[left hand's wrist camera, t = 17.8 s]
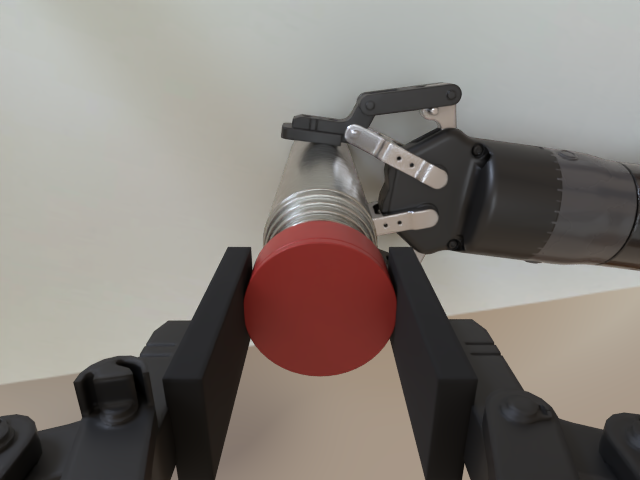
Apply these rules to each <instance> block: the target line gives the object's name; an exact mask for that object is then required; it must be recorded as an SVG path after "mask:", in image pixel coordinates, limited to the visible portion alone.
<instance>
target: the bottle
mask: <svg viewBox="0 0 640 480" xmlns="http://www.w3.org/2000/svg"><path fill="white" fill-rule="evenodd" d="M310 221H331V222H336V223H341V224H344V225H347V226H349V227H351V228H353V229H355V230H357V231H359V232H360V233H362V234H364V235H365V236H366V237H367V238H368V239H370V240H371V241H372V242H373V244H374V245H375V246H376V247H377V233H376V228H375V225H374V221H373V218H372V216H371V213H370V210H369V207H368V204H367V201H366V198H365V195H364V192H363V189H362V186H361V183H360V180H359V177H358V174H357V171H356V168H355V165H354V162H353V159H352V156H351V153H350V150H349V147H348V145H347V143H342V142H341V146H334V145H328V144H319V143H312V142H304V141H297V140H295V141H294V143H293V145H292V148H291V151H290V154H289V157H288V160H287V163H286V166H285V169H284V172H283V175H282V178H281V181H280V184H279V187H278V190H277V193H276V196H275V199H274V202H273V205H272V208H271V211H270V214H269V217H268V220H267V223H266V226H265V229H264V235H263V247H264V246H265V245H266V244H267V243H268V242H269V241H270V240H271V239H272V238H273V237H274V236H276V235H277V234H278V233H280V232H282V231H283V230H285V229H287V228H289V227H291V226H294V225H297V224H300V223H304V222H310Z"/></svg>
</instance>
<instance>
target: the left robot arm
mask: <svg viewBox="0 0 640 480" xmlns="http://www.w3.org/2000/svg"><path fill="white" fill-rule="evenodd" d="M388 272H389V275H390V278H391V281H392V284H393V287H394V291H395V294H396V299H397V306H396V320H395V327H394V330H393V332H392V335H391V337H390V341H391V345H392V349H393V353H394V357H395V361H396V365H397V369H398V373H399V377H400V381H401V385H402V389H403V393H404V397H405V401H406V405H407V409H408V413H409V417H410V421H411V425H412V429H413V432H414V437H415V440H416V444H417V448H418V452H419V456H420V460H421V464H422V468H423V472H424V476H425V480H462V476H463V470H464V463H465V465H466V468H467V471H468V474H469V477H470V479H471V480H640V415H639V414H631V413H619V414H614V415H612V416H611V417H610V418H608V419H607V420H606V423H605V426H604V429H603V430H602V429H598V428H593V427H589V426H585V425H580V424H576V423H572V422H569V421H565V420H562V419H559V418H558V416H557V415H556V413H555V412H554V410H553V408H552V407H551V406H550V405H549V404H547V403H546V402H545V401H544V400H543V399H541V398H539V397H537V396H535V395H533V394H531V393H529V392H526V391H524V390H523V388H522V386H521V385H520V383H519V382H518V380H517V379H516V377H515V375H514V374H513V372H512V370H511V369H510V367H509V366H508V364H507V362H506V361H505V359H504V358H503V356H501V353H500V351H499V349H498V348H497V346H496V345H494V341H493V340H492V338H491V337H490V335H489V333H488V332H487V330H486V329H484V328H483V327H482V326H480V325H479V324H478V323H476V322H475V321H474V320H472V319H448V318H447V316H446V314H445V312H444V310H443V308H442V306H441V304H440V302H439V300H438V298H437V296H436V294H435V292H434V290H433V288H432V286H431V284H430V282H429V280H428V278H427V276H426V274H425V272H424V270H423V268H422V266H421V264H420V262H419V260H418V258H417V256H416V254H415V252H414V250H413V248H412V247H389V259H388ZM251 274H252V255H251V247H228V248H227V250H226V252H225V254H224V256H223V258H222V260H221V262H220V264H219V266H218V268H217V270H216V272H215V274H214V276H213V278H212V280H211V282H210V284H209V286H208V288H207V290H206V292H205V294H204V296H203V298H202V300H201V302H200V304H199V306H198V308H197V310H196V312H195V314H194V316H193V318H192V320H191V321H167V322H166V323H165V324H163V325H162V326H161V327H159V328H158V329H157V330H155V331H154V332H153V334H152V336H151V337H150V339H149V340H148V342H147V344H146V346H145V347H144V349H143V350H142V352H141V353H140V357H134V356H116V357H112V358H108V359H104V360H101V361H99V362H97V363H95V364H93V365H91V366H89V367H88V368H86V369H85V370H84V371H82V372H81V373H80V374H79V375H78V377H77V378H76V379H75V381H74V387H75V391H76V395H77V399H78V402H79V406H80V410H81V414H82V419H81V421H78V422H74V423H71V424H68V425H63V426H59V427H55V428H50V429H46V430H42V431H37V428H36V425H35V422H34V421H33V420H32V419H30V418H29V417H28V416H23V415H17V414H15V415H7V416H1V417H0V480H170V479H171V477H172V474H173V471H174V468H175V466H176V468H177V474H178V480H215V477H216V473H217V469H218V465H219V461H220V457H221V453H222V449H223V446H224V441H225V437H226V434H227V430H228V426H229V422H230V418H231V414H232V410H233V406H234V402H235V398H236V394H237V390H238V386H239V382H240V378H241V374H242V370H243V366H244V362H245V358H246V354H247V350H248V346H249V342H250V336H249V334H248V331H247V329H246V326H245V316H244V295H245V292H246V289H247V286H248V283H249V280H250V277H251Z"/></svg>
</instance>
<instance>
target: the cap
mask: <svg viewBox="0 0 640 480" xmlns="http://www.w3.org/2000/svg"><path fill="white" fill-rule="evenodd" d="M396 306H397V299H396V294H395V291H394V287H393V284H392V281H391V278H390V275H389V272H388V269H387V266H386V263H385V261H384V258H383V256H382V254H381V253H380V251H379V250H378V248H377V247H376V246H375V245H374V244H373V242H372V241H371V240H370V239H368V238H367V237H366V236H365V235H364V234H362V233H360V232H359V231H357V230H355V229H353V228H351V227H349V226H347V225H344V224H341V223H336V222H331V221H310V222H304V223H300V224H297V225H294V226H291V227H289V228H287V229H285V230H283V231H282V232H280V233H278V234H277V235H276V236H274V237H273V238H272V239H271V240H270V241H269V242H268V243H267V244H266V245H265V246H264V247H263V249H262V250H261V252H260V253H259V255H258V257H257V259H256V261H255V264H254V267H253V271H252V274H251V277H250V280H249V283H248V286H247V289H246V292H245V295H244V316H245V326H246V329H247V331H248V334H249V336H250V338H251V340H252V341H253V343H254V344H255V346H256V347H257V348H258V349H259V350H260V352H261V353H262V354H263V355H265V356H266V357H267V358H268V359H269V360H271V361H272V362H273V363H275V364H277V365H279V366H280V367H282V368H284V369H287V370H289V371H292V372H295V373H299V374H303V375H309V376H331V375H338V374H342V373H346V372H349V371H351V370H354V369H356V368H358V367H360V366H362V365H364V364H365V363H367V362H368V361H370V360H371V359H372V358H374V357H375V356H376V355H377V354H378V353H379V352H380V351H381V350H382V349H383V347H384V346H385V345H386V343H387V342H388V340H389V339H390V337H391V335H392V332H393V330H394V327H395V320H396Z"/></svg>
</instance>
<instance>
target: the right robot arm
mask: <svg viewBox="0 0 640 480" xmlns="http://www.w3.org/2000/svg"><path fill="white" fill-rule="evenodd" d="M461 95H462V92H461V89H460V88H459V86H457V85H455V84H450V83H442V82H441V83H433V84H425V85H418V86H410V87H402V88H394V89H387V90H379V91H371V92H364V93H362V94H360V95H359V97H358V98H357V103H356V105H355V107H354V109H353V110H352V112H351V114H350V115H349V116H348V117H347V118H345V119H333V118H326V117H318V116H311V115H304V114H301V115H297V116H294V118H293V122H292V123H284V124H283V125H282V133H281V138H284V139H289V140H297V141H304V142H312V143H319V144H328V145H334V146H341V142H342V143H349V144H352V145H354V146H356V147H358V148H360V149H362V150H364V151H366V152H368V153H370V154H371V155H373V156H375V157H376V158H378V159H379V160H381V161H383V162H385V168H384V175H385V183H384V185H383V187H382V189H381V191H380V194H379V200H378V201H376V202H371V203H367V204H368V207H369V210H370V213H371V216H372V218H373V221H374V225H375V228H376V233H377V236H379V235H384V234H389V233H395V232H396V233H397V234H399V235H400V236H401V237H402V238H403V239H404V240H405V241H406V242H407V243H408V244H409V245H410V247H412V248H413V250H414V252H415V254H416V256H417V258H418V260H419V262H420V264H421V262H422V260H423V258H424V256H425V254H432V253H435V252H438V251H442V250H451V251H456V252H462V253H470V254H478V255H486V256H494V257H502V258H510V259H518V260H524V261H526V262H530V263H550V264H562V265H570V264H587V265H597V266H605V267H613V268H621V269H630V270H637V271H640V165H638V164H631V163H624V162H615V161H610V160H605V159H602V158H599V157H595V156H592V155H588V154H584V153H579V152H573V151H567V150H558V149H551V148H543V147H537V146H530V145H522V144H515V143H508V142H501V141H493V140H486V139H479V138H472V137H469V136H467V135H465V134H464V133H463V132H462V131H461V130H459V129H456V104H457V103H458V102H459V100H460V99H461ZM413 110H419V112H420V115H421V116H422V117H424V118H426V119H428V120H435V121H436V123H437V125H438V128H436V129H434V130H432V131H431V132H429V133H427V134H425V135H423V136H421V137H419V138H417V139H415V140H413V141H411V142H409V143H408V144H406V145H403V144H401V143H399V142H397V141H396V140H394V139H392V138H390V137H388V136H386V135H384V134H382V133H379V132H377V131H375V130H373V129H372V128H370V127H369V126H370V124H371V122H372V120H373V118H374V116H375V115H382V114H390V113H398V112H405V111H413ZM379 210H380V211H379ZM384 224H385V225H384ZM378 250H379V251H380V253H381V254H382V256H383V258H384V261H385V263H386V266H387V269H388V259H389V253H388V252H385V251H383V250H380V249H378Z"/></svg>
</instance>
